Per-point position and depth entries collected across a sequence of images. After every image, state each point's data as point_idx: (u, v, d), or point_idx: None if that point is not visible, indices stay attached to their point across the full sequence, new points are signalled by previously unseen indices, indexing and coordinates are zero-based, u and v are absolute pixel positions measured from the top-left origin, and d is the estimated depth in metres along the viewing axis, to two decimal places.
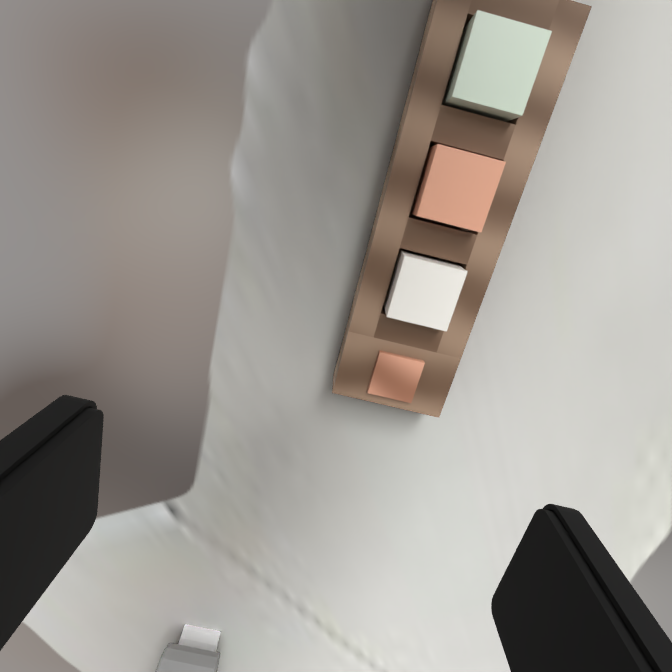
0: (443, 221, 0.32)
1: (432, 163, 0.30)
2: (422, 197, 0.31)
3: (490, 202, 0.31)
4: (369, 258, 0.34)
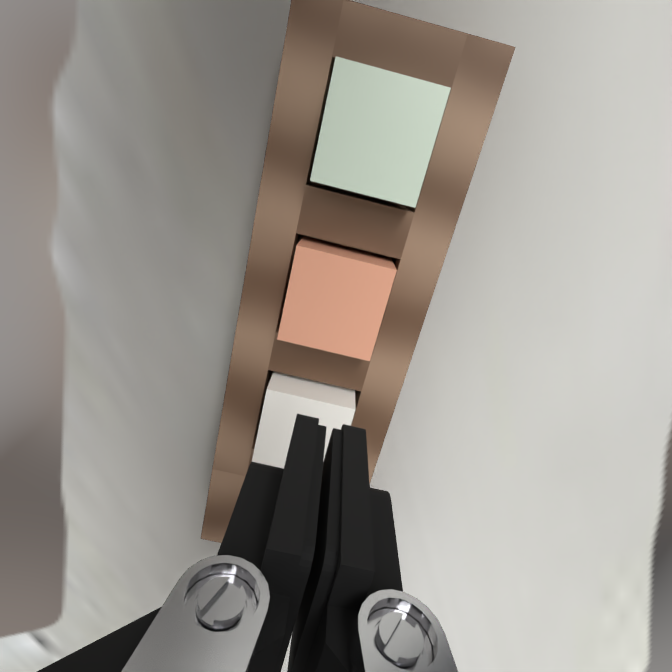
0: (315, 346, 0.22)
1: (292, 271, 0.21)
2: (283, 315, 0.22)
3: (379, 322, 0.22)
4: (228, 382, 0.25)
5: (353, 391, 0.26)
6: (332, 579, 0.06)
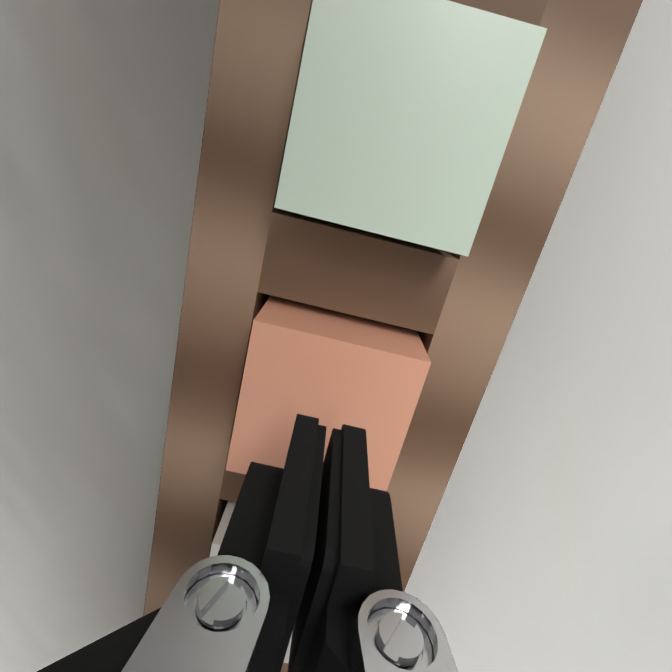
0: None
1: (247, 362, 0.12)
2: (234, 432, 0.13)
3: (398, 446, 0.13)
4: (158, 516, 0.16)
5: None
6: (332, 579, 0.06)
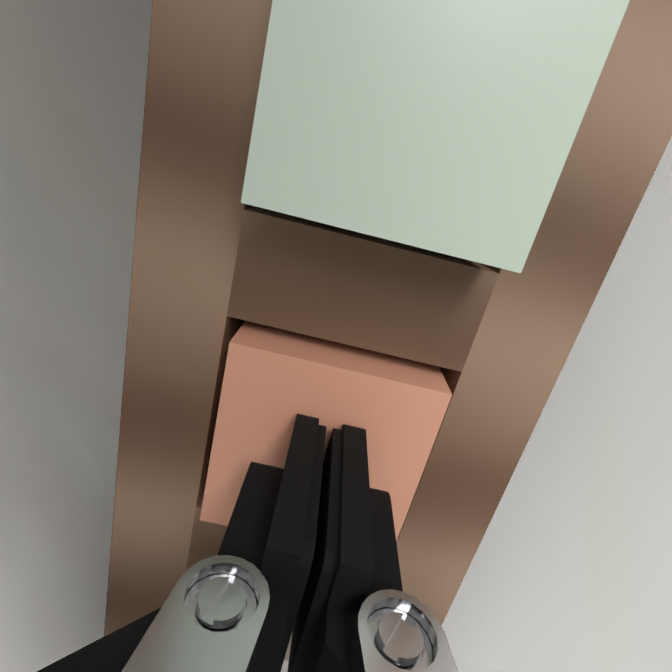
0: None
1: (223, 393, 0.10)
2: (209, 476, 0.11)
3: (410, 493, 0.10)
4: (111, 589, 0.13)
5: None
6: (332, 579, 0.06)
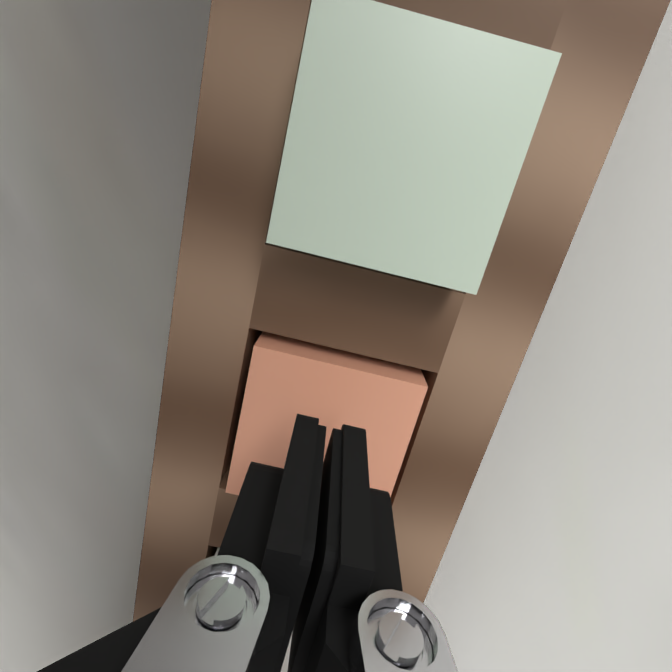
0: None
1: (247, 386, 0.12)
2: (234, 455, 0.13)
3: (396, 468, 0.13)
4: (143, 563, 0.15)
5: None
6: (332, 579, 0.06)
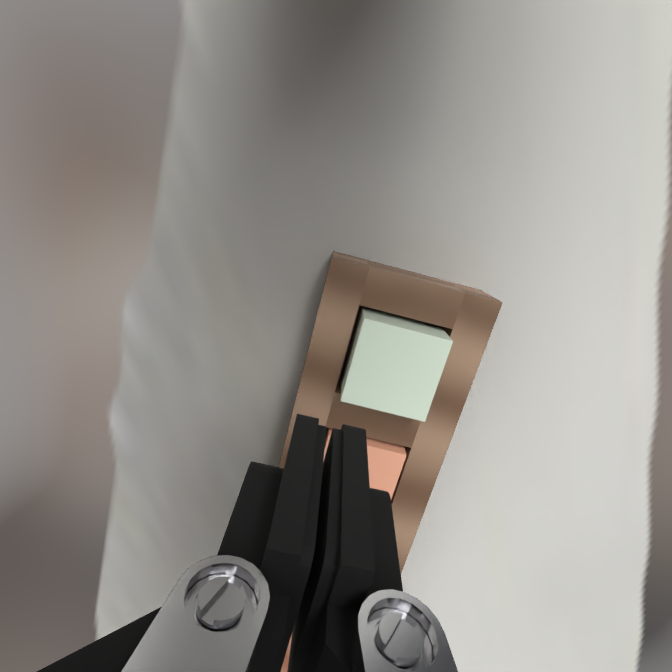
0: None
1: None
2: None
3: (392, 492, 0.27)
4: None
5: None
6: (332, 579, 0.06)
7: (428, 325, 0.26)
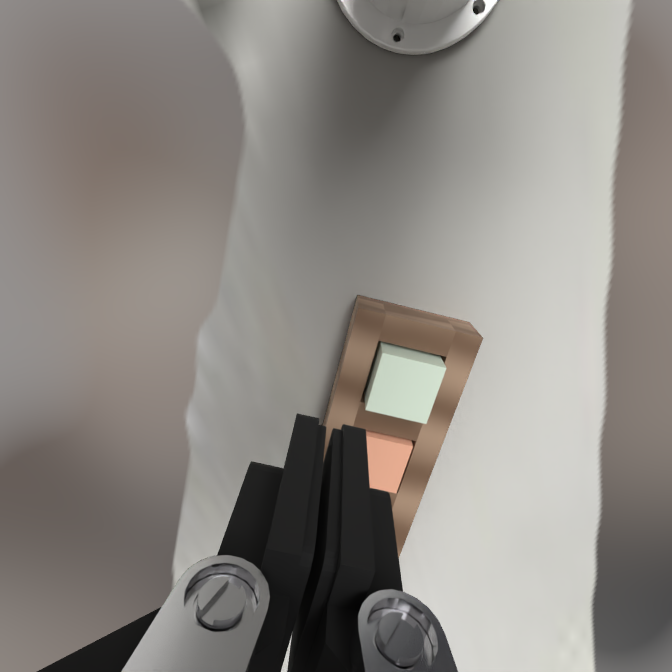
0: None
1: None
2: None
3: (402, 473, 0.37)
4: None
5: None
6: (332, 579, 0.06)
7: (429, 353, 0.35)
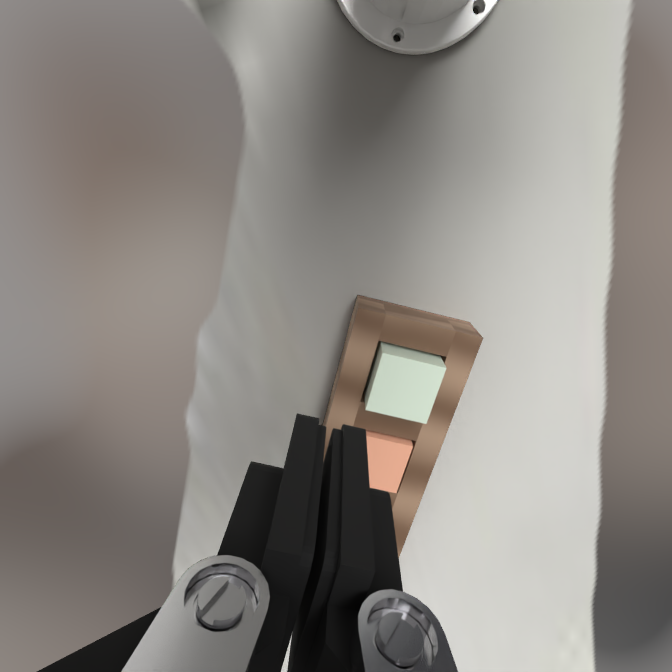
0: None
1: None
2: None
3: (402, 473, 0.37)
4: None
5: None
6: (332, 579, 0.06)
7: (429, 353, 0.35)
